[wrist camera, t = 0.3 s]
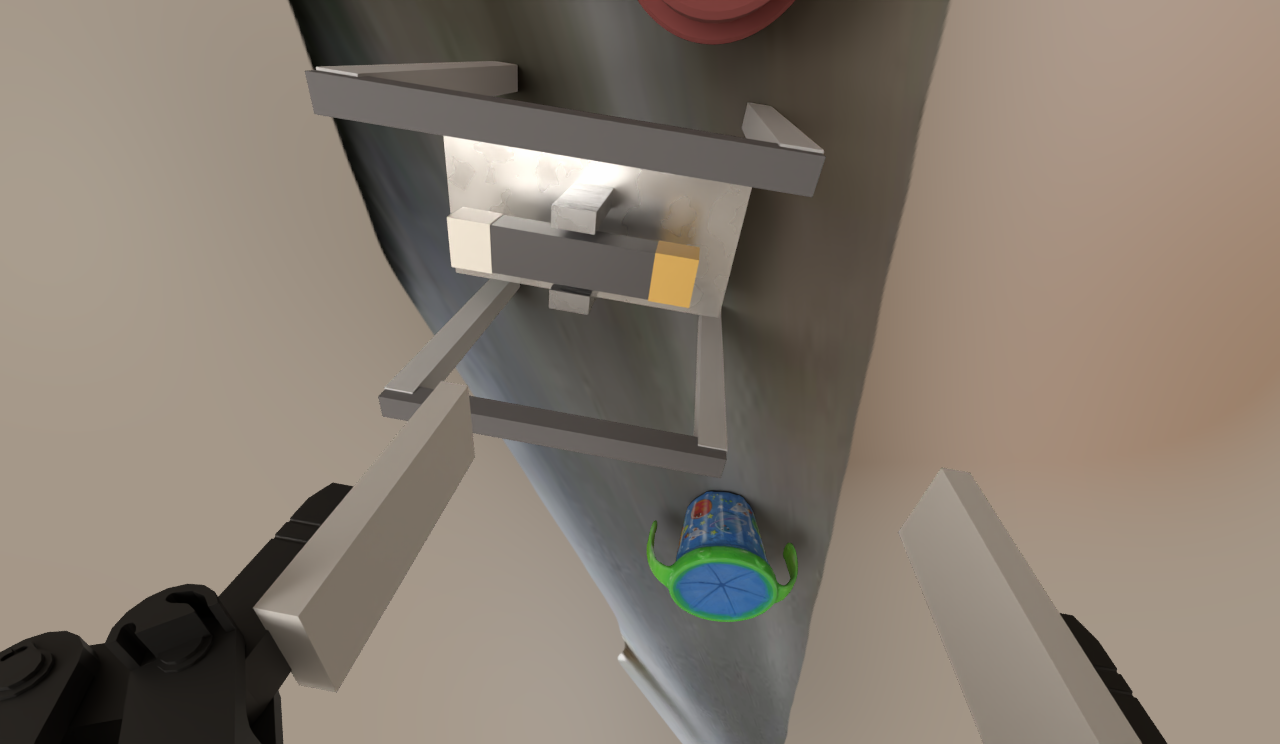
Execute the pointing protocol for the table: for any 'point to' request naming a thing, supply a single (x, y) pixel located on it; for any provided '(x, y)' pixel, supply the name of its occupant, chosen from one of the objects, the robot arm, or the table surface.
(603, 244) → the lever
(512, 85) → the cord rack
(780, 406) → the table surface
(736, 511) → the snack cup
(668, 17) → the mechanical component
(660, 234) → the grey box
